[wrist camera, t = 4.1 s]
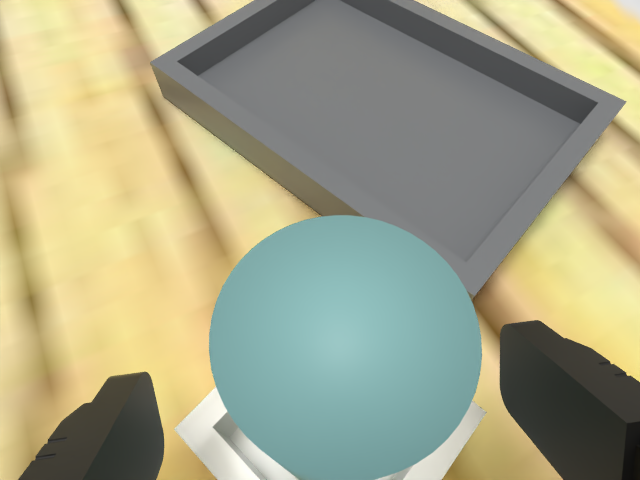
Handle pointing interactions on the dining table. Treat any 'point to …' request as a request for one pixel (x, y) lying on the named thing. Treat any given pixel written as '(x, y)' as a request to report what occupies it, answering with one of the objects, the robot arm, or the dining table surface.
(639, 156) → the dining table surface
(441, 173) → the tray
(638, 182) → the dining table surface
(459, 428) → the tray
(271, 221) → the dining table surface
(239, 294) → the dowel
